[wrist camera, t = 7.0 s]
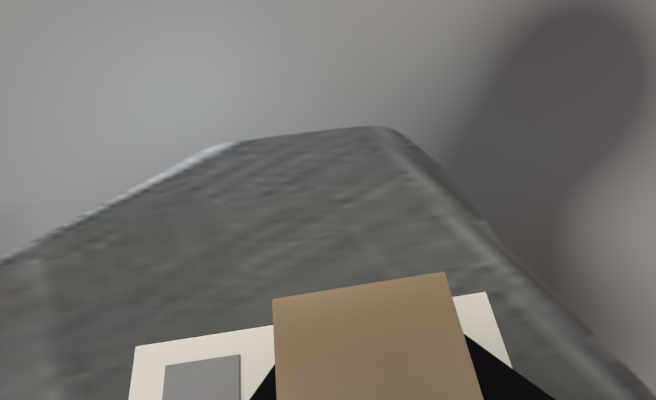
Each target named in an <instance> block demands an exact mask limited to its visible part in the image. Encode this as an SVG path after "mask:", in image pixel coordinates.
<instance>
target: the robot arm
mask: <svg viewBox="0 0 656 400" xmlns="http://www.w3.org/2000/svg"><path fill="white" fill-rule="evenodd" d="M463 334H464V333H463ZM464 337H465V341H466V344H467V347H468V350H469V354H470V357H471V360H472V363H473V367H474V370H475V373H476V376H477V380H478V383H479V386H480V389H481V393H482V396H483V399H484V400H555V399H554V398H552V397H551V396H549V395H548V394H547V393H545V392H544V391H542V390H541V389H540V388H538V387H537V386H536V385H534V384H533V383H531V382H530V381H529V380H527V379H526V378H525V377H523V376H522V375H520V374H519V373H518V372H516V371H515V370H513V369H512V368H511V367H509V366H508V365H507V364H505V363H504V362H502V361H501V360H500V359H498V358H497V357H496V356H494V355H493V354H491V353H490V352H489V351H487V350H486V349H485V348H483V347H482V346H480V345H479V344H478V343H476V342H475V341H473V340H472V339H471V338H469V337H468V336H467V335H465V334H464ZM249 400H277V398H276V375H275V364H274V366H273V367H272V369H271V370H270V371H269V373H268V374H267V376H266V377H265V378H264V380H263V381H262V383H261V384H260V385H259V387H258V388H257V390H256V391H255V392H254V394H253V395H252V397H251V398H250V399H249Z"/></svg>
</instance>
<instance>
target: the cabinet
mask: <svg viewBox="0 0 656 400" xmlns="http://www.w3.org/2000/svg"><path fill="white" fill-rule="evenodd" d="M452 298H453V301H454V305H455V308H456V311H457V314H458V318H459V321H460V324H461V327H462V331H463V333H464V334H465V335H467V336H468V337H469V338H471V339H472V340H473V341H475V342H476V343H478V344H479V345H480V346H482V347H483V348H485V349H486V350H487V351H489V352H490V353H491V354H493V355H494V356H496V357H497V358H498V359H500V360H501V361H502V362H504V363H505V364H507V365H508V366H509V367H511V368H512V366H511V363H510V360H509V357H508V354H507V351H506V349H505V346H504V343H503V340H502V337H501V334H500V332H499V329H498V326H497V323H496V320H495V317H494V315H493V312H492V309H491V306H490V303H489V300H488V298H487V295H486V292H482V293H475V294H469V295H463V296H456V297H452ZM274 364H275V353H274V330H273V325H270V326H264V327H258V328H251V329H245V330H238V331H232V332H225V333H219V334H213V335H206V336H200V337H193V338H187V339H181V340H174V341H168V342H161V343H155V344H149V345H142V346H136V348H135V356H134V363H133V371H132V378H131V385H130V393H129V400H249V399H250V398H251V397H252V395H253V394H254V392H255V391H256V390H257V388H258V387H259V385H260V384H261V383H262V381H263V380H264V378H265V377H266V376H267V374H268V373H269V371H270V370H271V369H272V367H273V366H274ZM512 369H513V368H512Z"/></svg>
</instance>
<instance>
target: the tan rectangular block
mask: <svg viewBox="0 0 656 400" xmlns="http://www.w3.org/2000/svg"><path fill="white" fill-rule="evenodd" d="M272 307H273V330H274V353H275V375H276V398H277V400H484V399H483V396H482V393H481V389H480V386H479V383H478V380H477V376H476V373H475V370H474V367H473V363H472V360H471V357H470V354H469V350H468V347H467V344H466V341H465V337H464V334H463V331H462V327H461V324H460V321H459V318H458V314H457V311H456V308H455V305H454V301H453V298H452V295H451V292H450V288H449V285H448V282H447V279H446V275H445V272H438V273H432V274H426V275H419V276H413V277H407V278H401V279H394V280H388V281H382V282H376V283H370V284H363V285H357V286H351V287H345V288H338V289H332V290H326V291H320V292H314V293H307V294H301V295H295V296H289V297H282V298H276V299H272Z"/></svg>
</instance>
